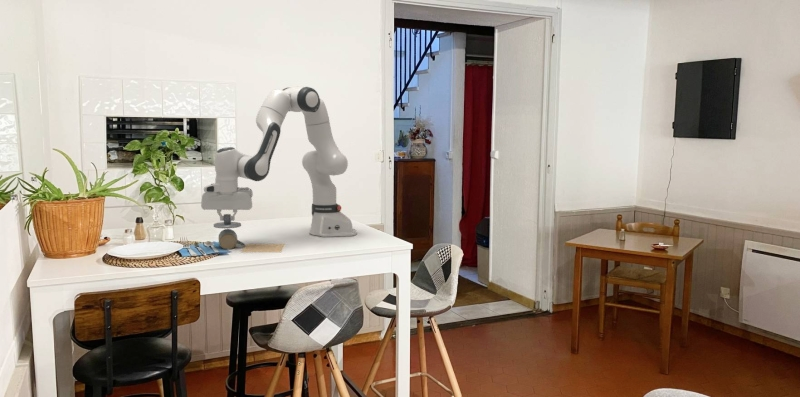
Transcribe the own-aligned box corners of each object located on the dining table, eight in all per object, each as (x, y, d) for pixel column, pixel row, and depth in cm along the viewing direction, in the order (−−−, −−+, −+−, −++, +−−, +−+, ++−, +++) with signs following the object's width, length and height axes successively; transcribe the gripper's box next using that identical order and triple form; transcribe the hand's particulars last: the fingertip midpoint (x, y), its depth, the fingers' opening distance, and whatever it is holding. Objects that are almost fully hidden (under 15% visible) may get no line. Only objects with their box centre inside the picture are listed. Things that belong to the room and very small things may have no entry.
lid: (242, 223, 260) (242, 212, 260) (238, 228, 250) (238, 216, 249) (216, 223, 259) (216, 212, 258) (211, 228, 248) (210, 216, 248)
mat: (285, 245, 264) (285, 243, 264) (281, 253, 248) (281, 252, 248) (247, 245, 262) (247, 243, 262) (240, 253, 246) (240, 252, 246)
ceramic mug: (218, 251, 250) (218, 232, 249) (218, 246, 258) (218, 228, 257) (245, 250, 253) (245, 232, 252) (244, 246, 261) (244, 228, 260)
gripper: (253, 186, 256) (254, 219, 258) (203, 186, 254) (204, 219, 256) (251, 188, 250) (251, 221, 252) (199, 187, 248) (200, 221, 250)
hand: (227, 220), depth 254 cm, fingers closed on lid, 3 cm apart
